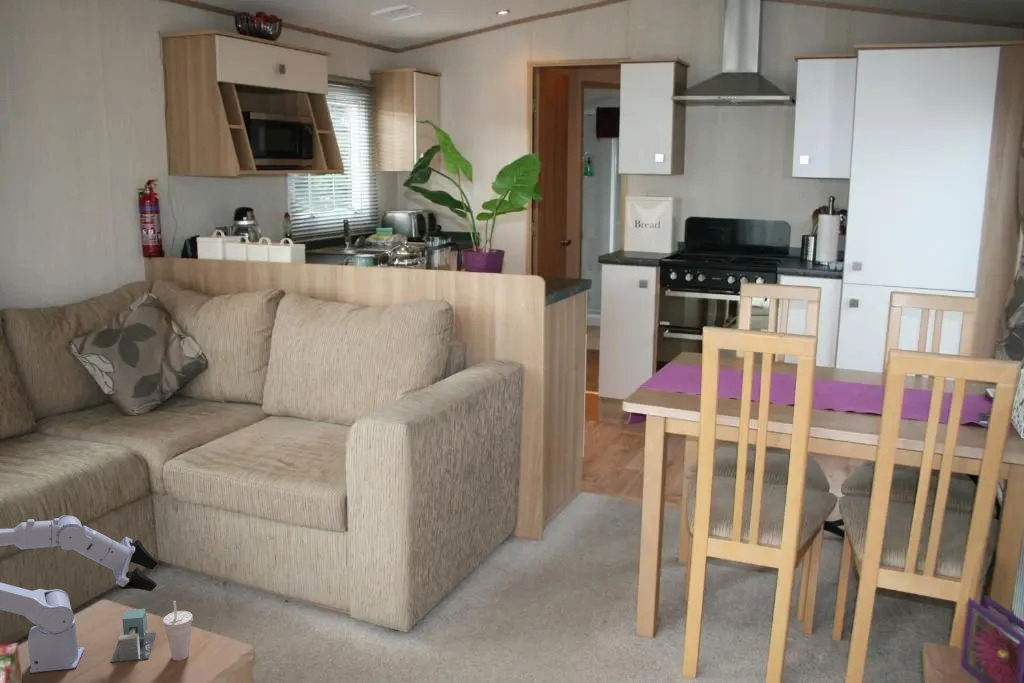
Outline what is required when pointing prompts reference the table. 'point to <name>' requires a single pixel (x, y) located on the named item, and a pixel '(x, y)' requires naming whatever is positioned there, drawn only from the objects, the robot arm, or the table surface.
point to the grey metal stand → (133, 646)
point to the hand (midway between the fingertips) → (154, 576)
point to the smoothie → (178, 632)
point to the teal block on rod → (135, 621)
